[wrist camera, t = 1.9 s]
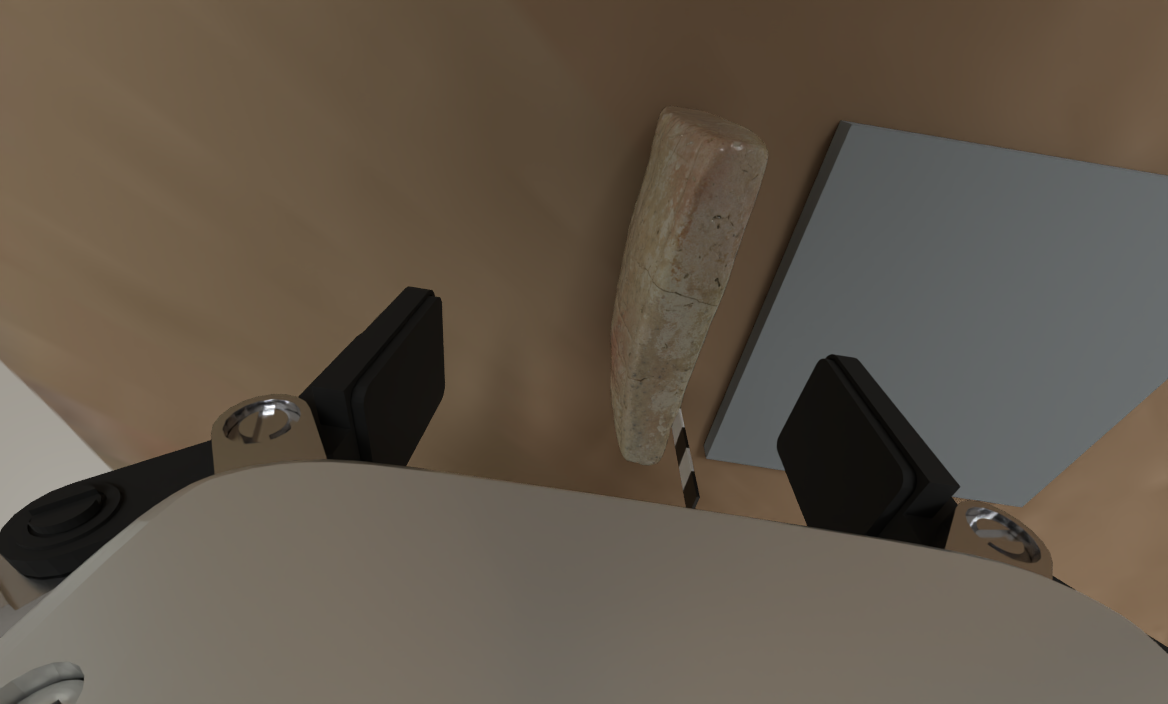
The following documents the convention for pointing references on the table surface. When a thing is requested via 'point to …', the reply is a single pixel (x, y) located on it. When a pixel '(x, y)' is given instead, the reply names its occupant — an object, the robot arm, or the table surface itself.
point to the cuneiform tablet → (677, 274)
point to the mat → (965, 304)
